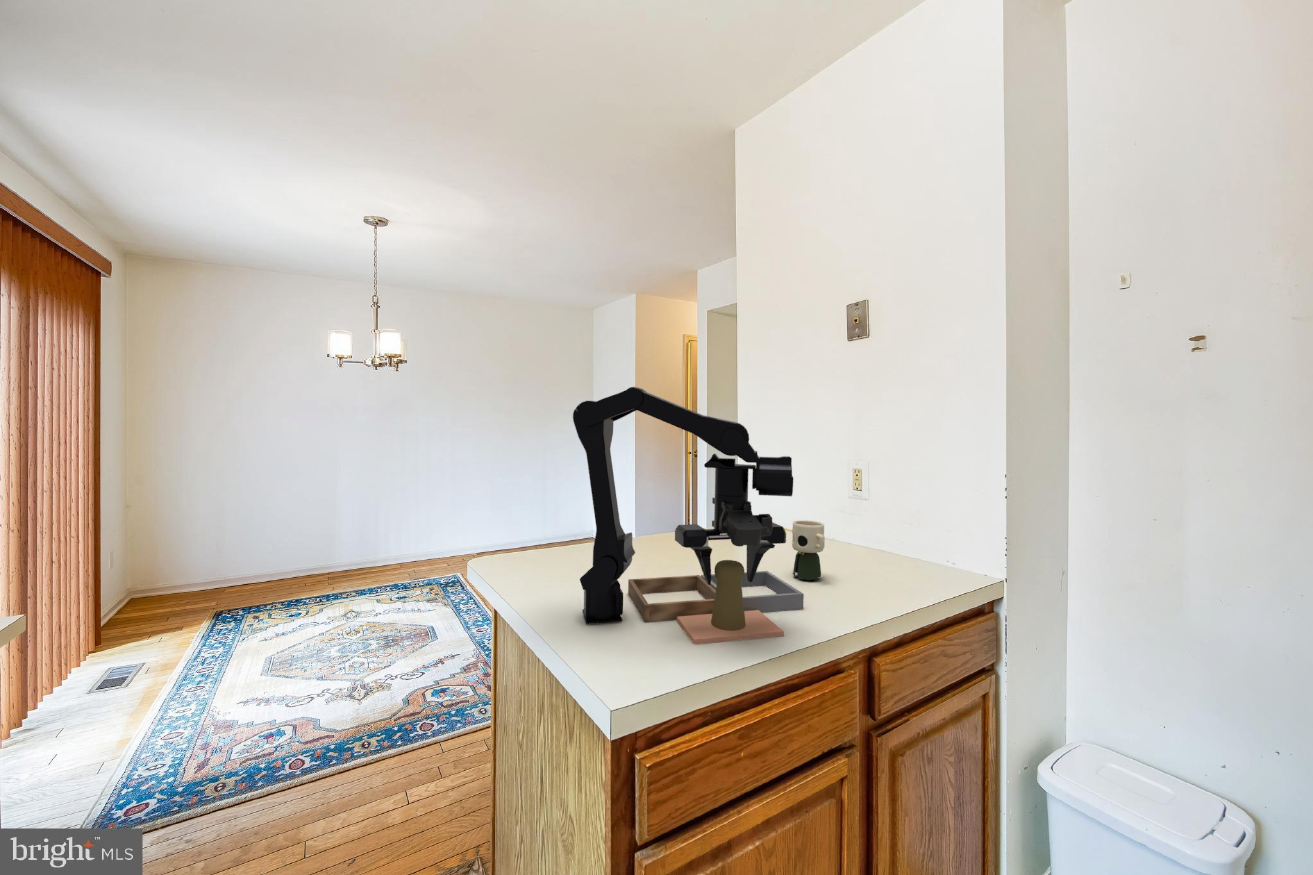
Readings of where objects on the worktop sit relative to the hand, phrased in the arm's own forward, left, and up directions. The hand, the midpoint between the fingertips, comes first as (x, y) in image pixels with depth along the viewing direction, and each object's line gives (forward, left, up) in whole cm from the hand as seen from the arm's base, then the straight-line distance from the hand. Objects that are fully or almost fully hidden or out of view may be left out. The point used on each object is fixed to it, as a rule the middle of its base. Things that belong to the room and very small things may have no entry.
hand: (729, 582), depth 90 cm
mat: (0, 0, -8) cm, 8 cm away
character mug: (+29, +23, -8) cm, 38 cm away
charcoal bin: (+10, +13, -8) cm, 19 cm away
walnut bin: (-6, +13, -8) cm, 17 cm away
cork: (0, 0, -7) cm, 7 cm away
